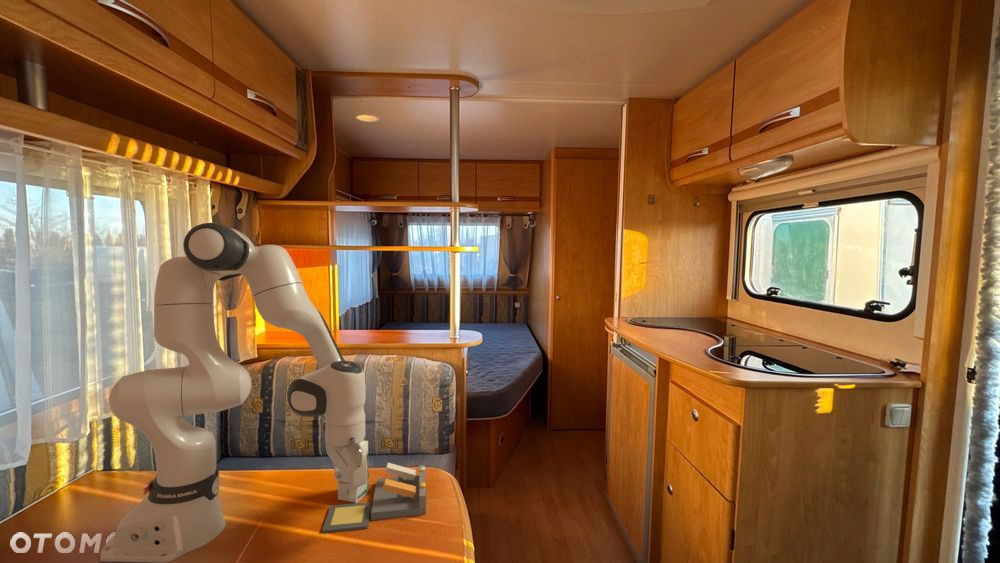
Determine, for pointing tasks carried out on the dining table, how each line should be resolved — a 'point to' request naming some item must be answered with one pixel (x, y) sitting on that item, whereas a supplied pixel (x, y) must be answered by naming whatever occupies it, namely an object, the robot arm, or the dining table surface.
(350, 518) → the pad
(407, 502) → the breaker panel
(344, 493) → the syrup box
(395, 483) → the block
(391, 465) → the block
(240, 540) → the dining table surface
